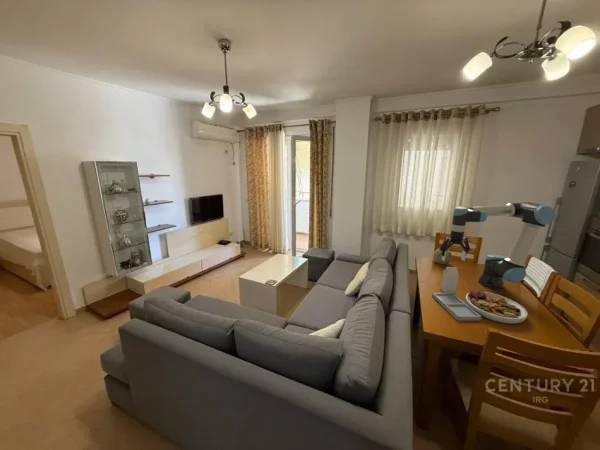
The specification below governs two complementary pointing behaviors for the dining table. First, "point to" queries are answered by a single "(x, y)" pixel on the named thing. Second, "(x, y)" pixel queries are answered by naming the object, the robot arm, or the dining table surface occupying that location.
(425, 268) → the dining table surface
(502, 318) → the plate of food
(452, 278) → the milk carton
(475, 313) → the divided tray
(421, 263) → the dining table surface
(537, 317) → the dining table surface
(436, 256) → the cantaloupe
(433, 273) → the dining table surface
